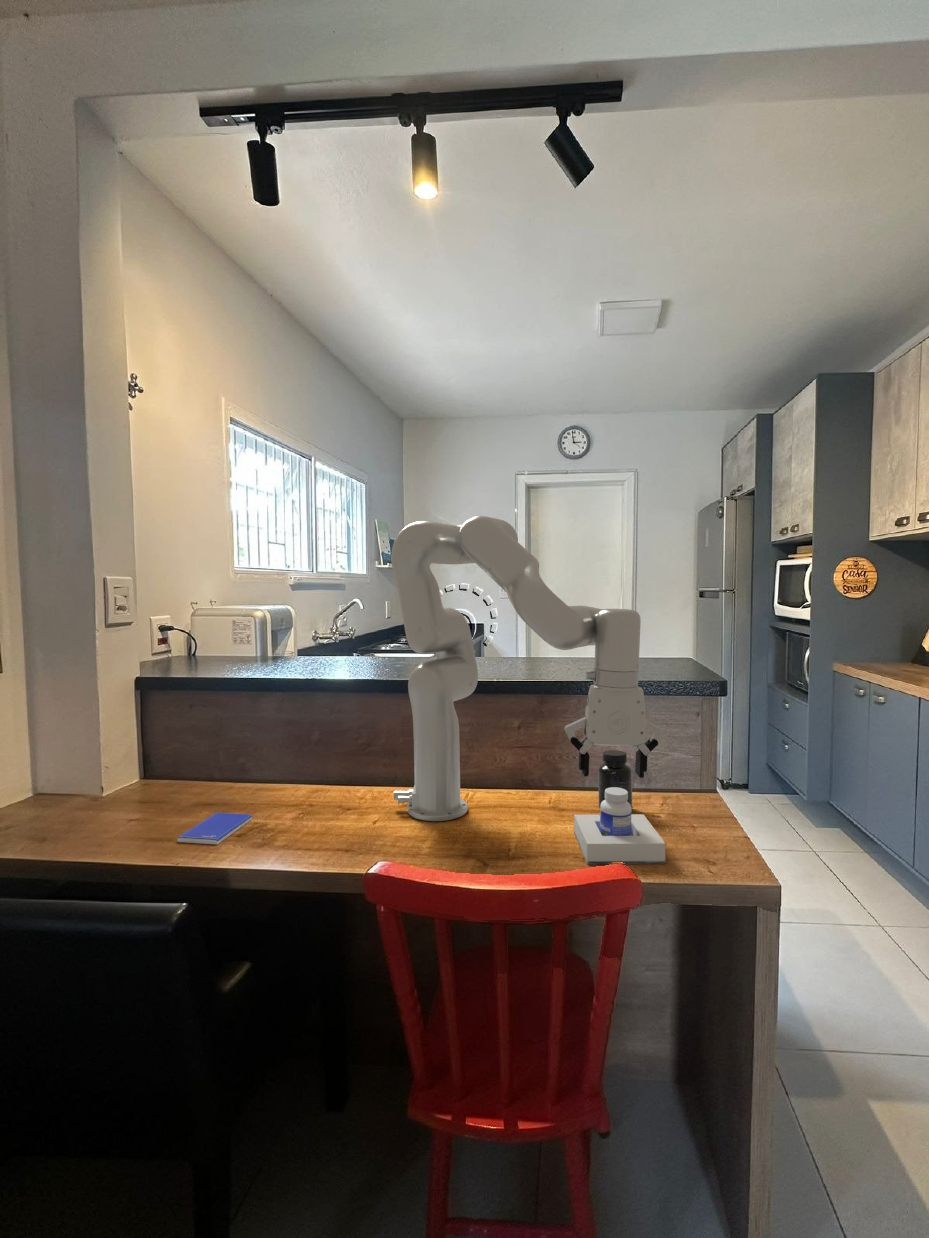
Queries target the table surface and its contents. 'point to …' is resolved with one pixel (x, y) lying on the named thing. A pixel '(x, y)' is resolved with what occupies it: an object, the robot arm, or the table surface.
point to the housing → (619, 842)
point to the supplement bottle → (614, 774)
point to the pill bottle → (615, 813)
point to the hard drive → (215, 828)
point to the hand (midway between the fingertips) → (612, 774)
